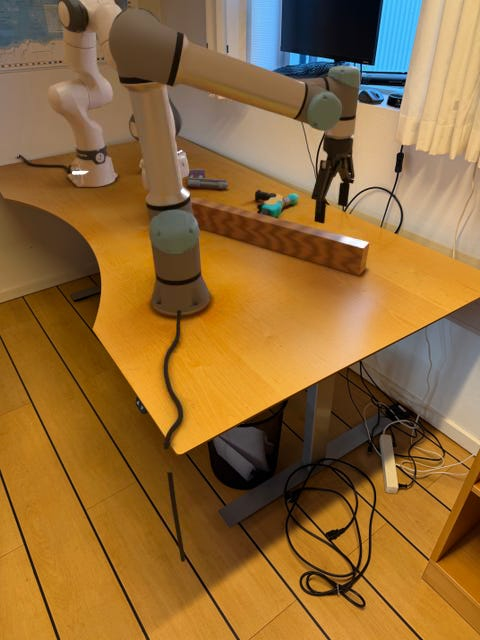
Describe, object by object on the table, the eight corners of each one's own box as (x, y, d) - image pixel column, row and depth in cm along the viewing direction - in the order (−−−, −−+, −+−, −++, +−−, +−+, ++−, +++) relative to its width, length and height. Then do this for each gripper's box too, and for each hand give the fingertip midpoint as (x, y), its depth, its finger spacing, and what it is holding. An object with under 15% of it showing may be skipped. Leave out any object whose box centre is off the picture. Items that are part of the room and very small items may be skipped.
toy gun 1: (234, 179, 200) (226, 192, 189) (191, 176, 204) (181, 189, 192) (234, 170, 198) (226, 182, 186) (191, 167, 201) (180, 179, 189)
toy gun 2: (232, 207, 164) (271, 215, 159) (264, 184, 183) (300, 190, 177) (232, 219, 167) (271, 227, 161) (263, 195, 186) (299, 202, 180)
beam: (365, 269, 138) (369, 242, 133) (359, 275, 136) (363, 248, 130) (161, 210, 175) (159, 187, 170) (153, 214, 172) (150, 191, 167)
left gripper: (177, 146, 166) (181, 185, 174) (136, 162, 153) (142, 203, 161) (191, 149, 163) (194, 188, 171) (150, 165, 150) (156, 207, 158)
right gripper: (347, 122, 130) (339, 196, 143) (300, 145, 115) (296, 226, 127) (373, 126, 127) (363, 201, 139) (328, 150, 111) (321, 233, 123)
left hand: (169, 196), depth 166 cm, fingers open, 8 cm apart
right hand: (331, 213), depth 133 cm, fingers open, 13 cm apart
